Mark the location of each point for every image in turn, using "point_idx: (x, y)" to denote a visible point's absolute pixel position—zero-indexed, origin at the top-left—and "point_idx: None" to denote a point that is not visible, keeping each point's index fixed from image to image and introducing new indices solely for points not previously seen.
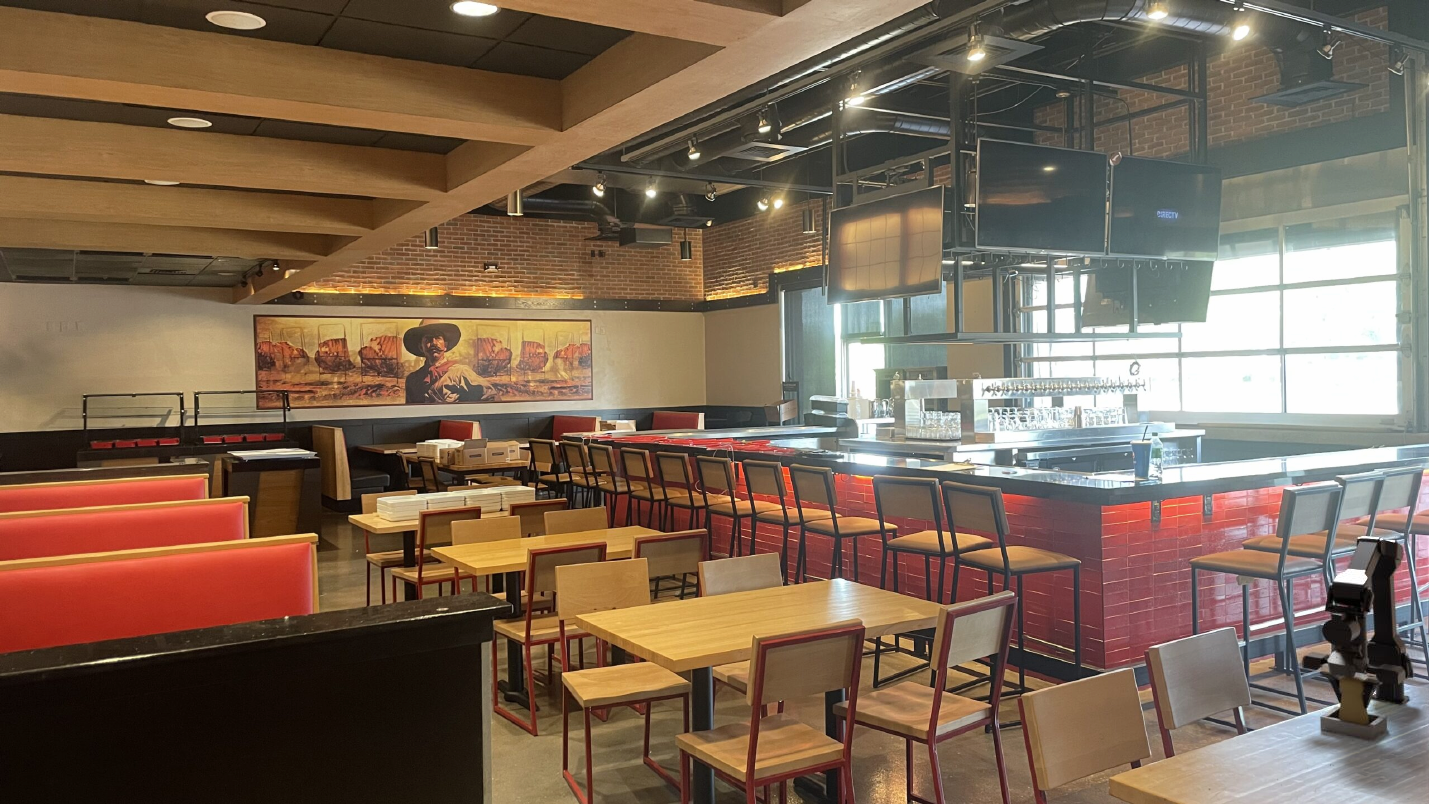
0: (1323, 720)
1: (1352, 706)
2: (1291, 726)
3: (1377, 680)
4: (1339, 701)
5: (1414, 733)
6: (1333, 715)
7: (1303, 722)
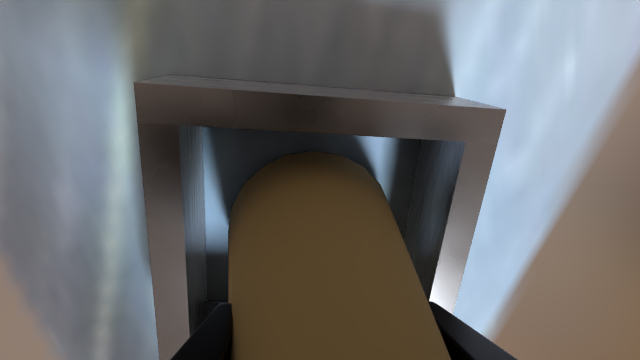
0: (472, 104)
1: (317, 246)
2: (600, 54)
3: None
4: (437, 309)
5: (69, 352)
6: (428, 250)
7: (541, 170)
